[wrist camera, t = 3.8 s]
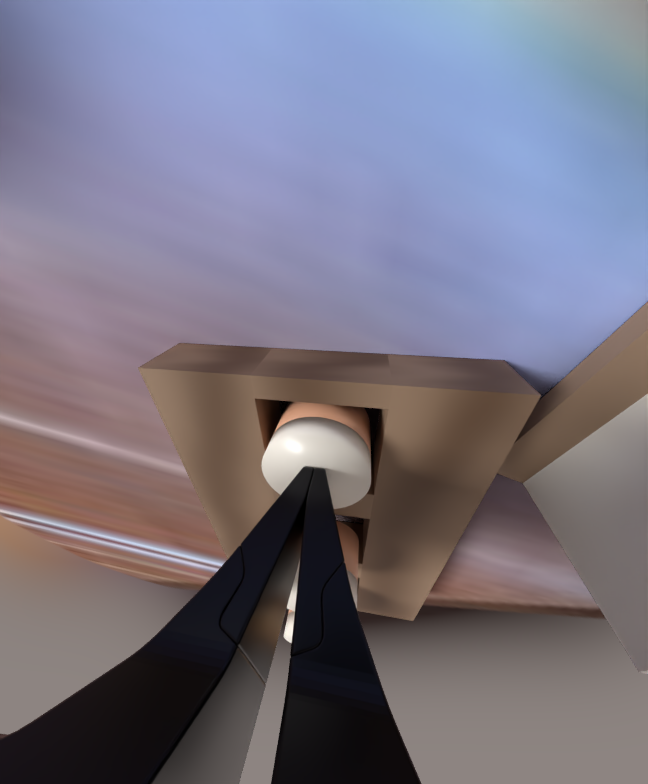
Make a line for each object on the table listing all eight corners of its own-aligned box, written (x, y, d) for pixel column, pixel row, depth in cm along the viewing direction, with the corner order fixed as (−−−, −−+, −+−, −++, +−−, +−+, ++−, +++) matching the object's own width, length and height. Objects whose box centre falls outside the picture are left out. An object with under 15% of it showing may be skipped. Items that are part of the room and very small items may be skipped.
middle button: (361, 522, 13) (360, 591, 10) (356, 560, 15) (354, 624, 13) (283, 511, 13) (264, 575, 11) (289, 549, 16) (275, 609, 13)
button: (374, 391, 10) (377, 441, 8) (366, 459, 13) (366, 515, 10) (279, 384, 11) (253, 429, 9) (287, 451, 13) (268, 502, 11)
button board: (504, 360, 10) (541, 395, 8) (408, 582, 21) (413, 620, 19) (179, 343, 12) (138, 367, 9) (253, 556, 23) (241, 589, 21)
